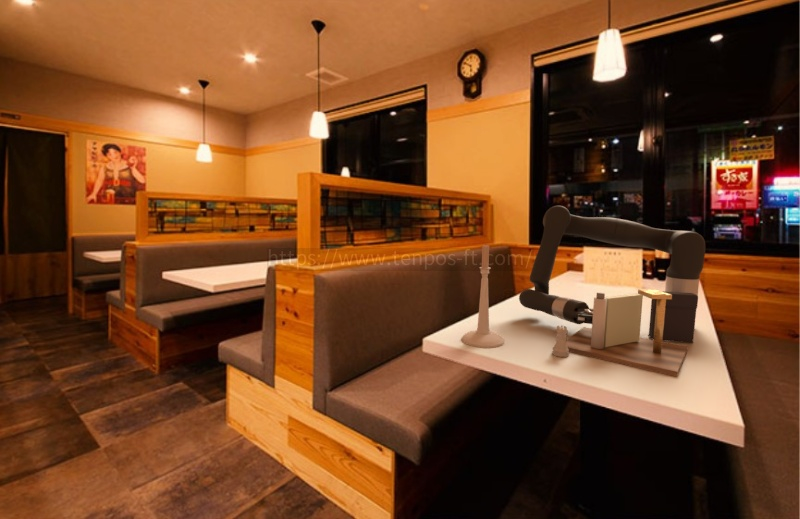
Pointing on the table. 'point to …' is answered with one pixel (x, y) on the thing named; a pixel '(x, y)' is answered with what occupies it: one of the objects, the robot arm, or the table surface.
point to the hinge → (616, 320)
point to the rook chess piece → (561, 342)
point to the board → (631, 353)
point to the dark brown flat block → (676, 317)
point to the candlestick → (483, 313)
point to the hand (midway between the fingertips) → (618, 323)
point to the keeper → (657, 315)
